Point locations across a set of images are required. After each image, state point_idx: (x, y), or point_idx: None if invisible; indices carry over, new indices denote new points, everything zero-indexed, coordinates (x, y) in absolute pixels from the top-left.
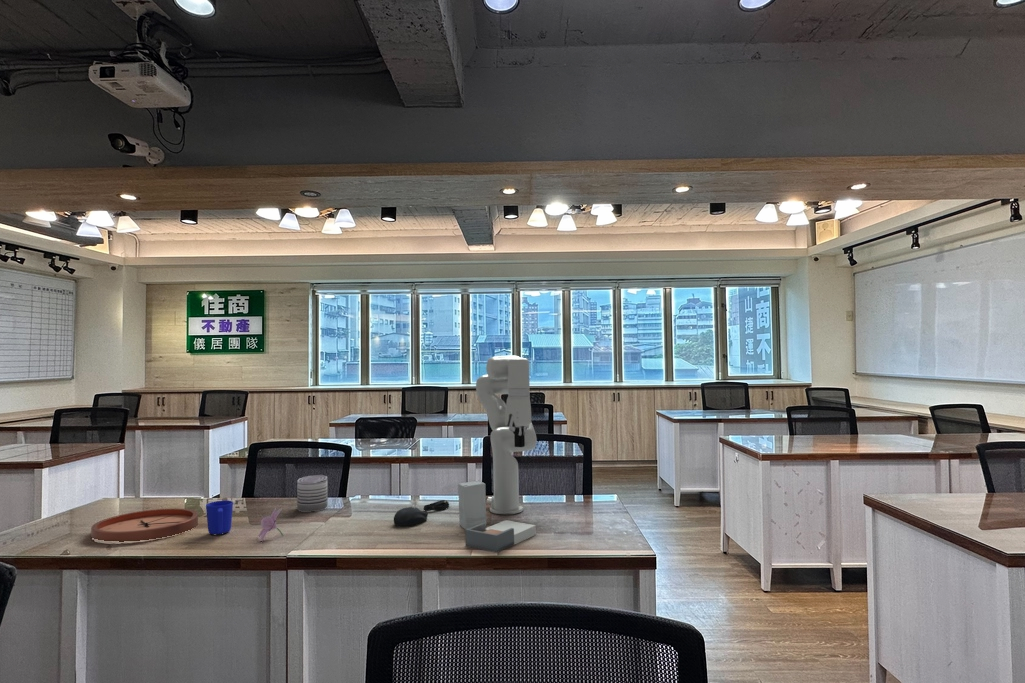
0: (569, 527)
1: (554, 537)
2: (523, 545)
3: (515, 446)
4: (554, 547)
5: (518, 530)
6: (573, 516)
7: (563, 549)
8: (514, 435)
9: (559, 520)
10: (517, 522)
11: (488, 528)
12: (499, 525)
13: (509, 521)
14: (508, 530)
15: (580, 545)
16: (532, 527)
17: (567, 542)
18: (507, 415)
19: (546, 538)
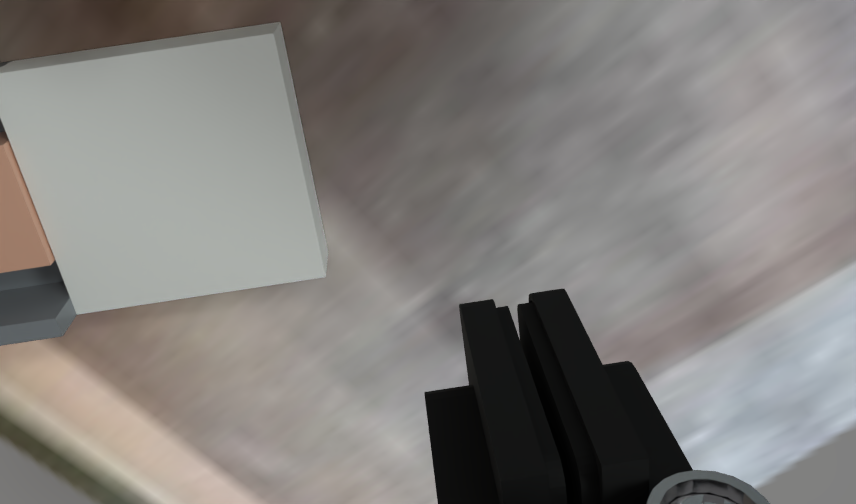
0: (574, 297)
1: (361, 351)
2: (131, 326)
3: (461, 322)
4: (232, 445)
5: (162, 273)
6: (810, 169)
7: (241, 486)
8: (498, 480)
9: (676, 161)
10: (289, 145)
11: (26, 93)
12: (140, 99)
13: (267, 82)
14: (4, 341)
15: (346, 501)
16: (287, 280)
17: (340, 440)
18: None
19: (316, 334)
